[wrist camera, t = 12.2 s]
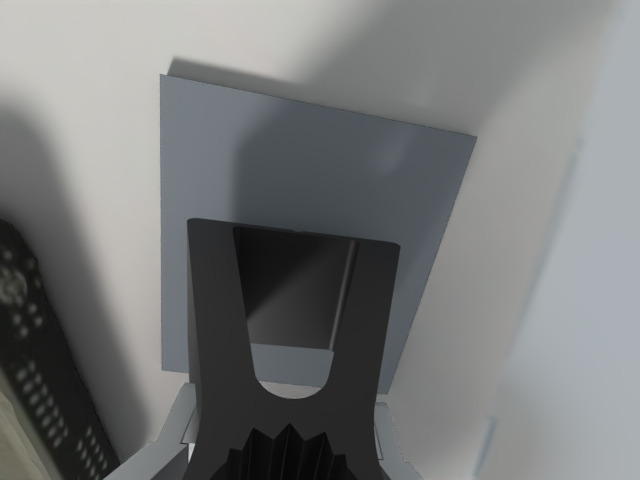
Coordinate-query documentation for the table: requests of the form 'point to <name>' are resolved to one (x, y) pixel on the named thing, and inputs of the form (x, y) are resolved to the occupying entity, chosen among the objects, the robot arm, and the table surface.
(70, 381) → the network switch
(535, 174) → the table surface
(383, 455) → the robot arm
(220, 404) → the black slotted holder
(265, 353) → the rubber mat
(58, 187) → the table surface
